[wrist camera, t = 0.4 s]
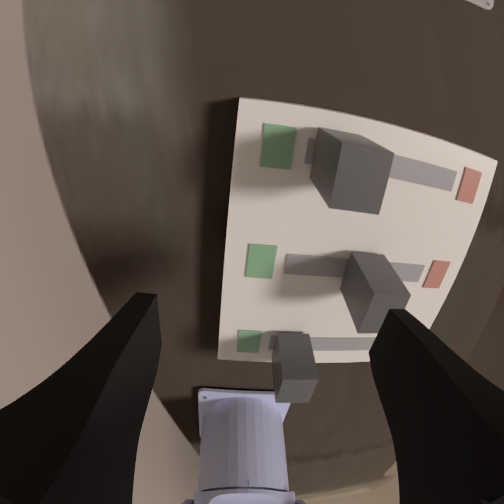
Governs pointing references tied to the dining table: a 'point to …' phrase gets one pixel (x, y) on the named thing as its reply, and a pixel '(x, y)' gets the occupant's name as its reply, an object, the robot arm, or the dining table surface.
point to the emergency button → (482, 3)
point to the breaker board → (335, 231)
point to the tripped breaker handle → (372, 290)
